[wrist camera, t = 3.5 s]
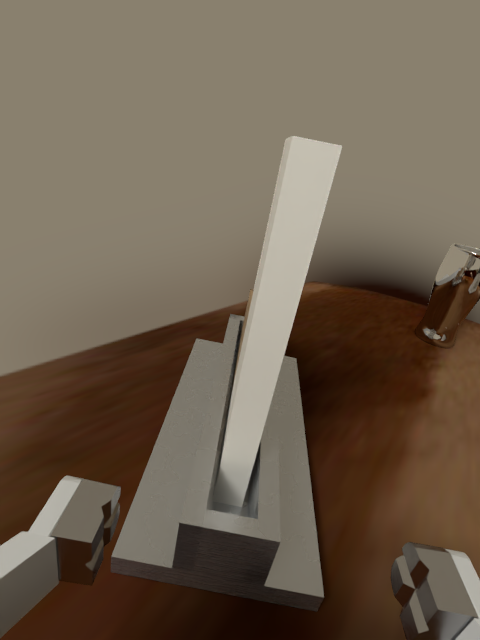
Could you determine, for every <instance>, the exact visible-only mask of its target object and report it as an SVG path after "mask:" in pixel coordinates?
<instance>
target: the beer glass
mask: <svg viewBox="0 0 480 640" xmlns="http://www.w3.org/2000/svg"><path fill="white" fill-rule="evenodd" d="M479 300H480V248H477V247H473V246H469V245H463V244H456V243H453V244H452V245H451V247H450V249H449V251H448V253H447V254H446V256H445V258H444V260H443V262H442V264H441V266H440V268H439V270H438V273H437V275H436V277H435V281H434V284H433V288H432V292H431V296H430V300H429V304H428V308H427V310H426V313H425V315H424V317H423V318H422V320H421V321H420V323H419V324H418V326H417V327H416V328H415V331H414V332H415V334H416V336H417V337H419V338H420V339H421V340H423V341H425V342H427V343H429V344H431V345H434V346H438V347H442V348H450V347H452V346H453V345H454V342H455V338H456V335H457V332H458V329H459V327H460V325H461V324H462V322H463V320H464V319H465V318H466V316H467V315H468V314H469V313H470V311H471V310H472V309H473V307H474V306H475V305H476V304H477V302H478V301H479Z"/></svg>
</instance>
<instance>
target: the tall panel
mask: <svg viewBox="0 0 480 640" xmlns="http://www.w3.org/2000/svg"><path fill="white" fill-rule="evenodd" d="M341 148H342V146H340V145H335V144H331V143H326V142H320V141H316V140H311V139H306V138H301V137H296V136H291V137H289V138H287V139H286V140H285V145H284V149H283V154H282V159H281V163H280V168H279V173H278V178H277V182H276V187H275V192H274V196H273V201H272V206H271V211H270V216H269V220H268V225H267V229H266V234H265V239H264V243H263V248H262V253H261V257H260V262H259V267H258V272H257V277H256V281H255V286H254V290H253V295H252V300H251V304H250V309H249V314H248V319H247V323H246V328H245V333H244V337H243V342H242V347H241V352H240V356H239V361H238V366H237V370H236V375H235V380H234V384H233V389H232V394H231V399H230V403H229V408H228V413H227V417H226V423H225V429H224V435H223V441H222V447H221V453H220V459H219V465H218V471H217V477H216V483H215V489H214V495H213V502H219V503H224V504H229V505H234V506H239V507H242V505H243V501H244V498H245V494H246V490H247V487H248V483H249V480H250V476H251V472H252V469H253V465H254V462H255V458H256V454H257V451H258V447H259V444H260V440H261V436H262V433H263V429H264V426H265V422H266V418H267V415H268V411H269V408H270V404H271V400H272V397H273V393H274V390H275V386H276V383H277V379H278V375H279V372H280V368H281V365H282V361H283V357H284V354H285V350H286V347H287V343H288V339H289V336H290V332H291V329H292V325H293V321H294V318H295V314H296V311H297V307H298V303H299V300H300V296H301V293H302V289H303V285H304V282H305V278H306V274H307V271H308V267H309V264H310V260H311V257H312V253H313V249H314V246H315V242H316V239H317V235H318V231H319V227H320V224H321V220H322V217H323V213H324V210H325V206H326V202H327V199H328V195H329V192H330V188H331V185H332V181H333V177H334V174H335V170H336V167H337V163H338V160H339V156H340V152H341Z"/></svg>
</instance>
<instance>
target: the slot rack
mask: <svg viewBox="0 0 480 640" xmlns="http://www.w3.org/2000/svg"><path fill="white" fill-rule="evenodd" d="M244 318H245V317H243V316H238V315H233V314H230V318H229V322H228V326H227V330H226V335H225V339H224V343H223V344H222V343H216V342H211V341H206V340H201V339H196V341H195V344H194V346H193V349H192V351H191V354H190V357H189V359H188V362H187V364H186V367H185V369H184V372H183V375H182V377H181V380H180V382H179V385H178V387H177V390H176V392H175V395H174V398H173V400H172V403H171V405H170V408H169V410H168V413H167V415H166V418H165V421H164V423H163V426H162V428H161V431H160V433H159V436H158V439H157V441H156V444H155V446H154V449H153V451H152V454H151V456H150V459H149V462H148V464H147V467H146V469H145V472H144V474H143V477H142V480H141V482H140V485H139V487H138V490H137V492H136V495H135V497H134V500H133V503H132V505H131V508H130V510H129V513H128V515H127V518H126V520H125V523H124V526H123V528H122V531H121V533H120V536H119V538H118V541H117V544H116V546H115V549H114V551H113V554H112V556H111V572H114V573H119V574H124V575H129V576H135V577H140V578H145V579H150V580H155V581H161V582H166V583H171V584H176V585H181V586H187V587H192V588H197V589H202V590H207V591H213V592H218V593H223V594H228V595H233V596H239V597H244V598H249V599H254V600H259V601H264V602H270V603H275V604H280V605H285V606H290V607H296V608H301V609H306V610H311V611H316V612H317V610H318V608H319V606H320V605H321V603H322V601H323V599H324V591H323V583H322V574H321V566H320V557H319V549H318V540H317V531H316V523H315V514H314V506H313V497H312V488H311V480H310V471H309V463H308V454H307V445H306V437H305V428H304V420H303V411H302V403H301V394H300V385H299V377H298V368H297V360H296V358H292V357H287V356H284V357H283V361H282V365H281V368H280V372H279V375H278V379H277V383H276V386H275V390H274V393H273V397H272V400H271V404H270V408H269V411H268V415H267V418H266V422H265V426H264V429H263V433H262V436H261V440H260V444H259V447H258V451H257V454H256V458H255V462H254V465H253V469H252V472H251V476H250V480H249V483H248V487H247V490H246V494H245V498H244V501H243V505H242V507H239V506H234V505H229V504H224V503H219V502H213V495H214V489H215V483H216V477H217V471H218V465H219V459H220V453H221V447H222V441H223V435H224V429H225V423H226V417H227V411H228V405H229V399H230V393H231V387H232V381H233V375H234V369H235V363H236V357H237V352H238V347H239V342H240V337H241V332H242V328H243V323H244Z"/></svg>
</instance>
